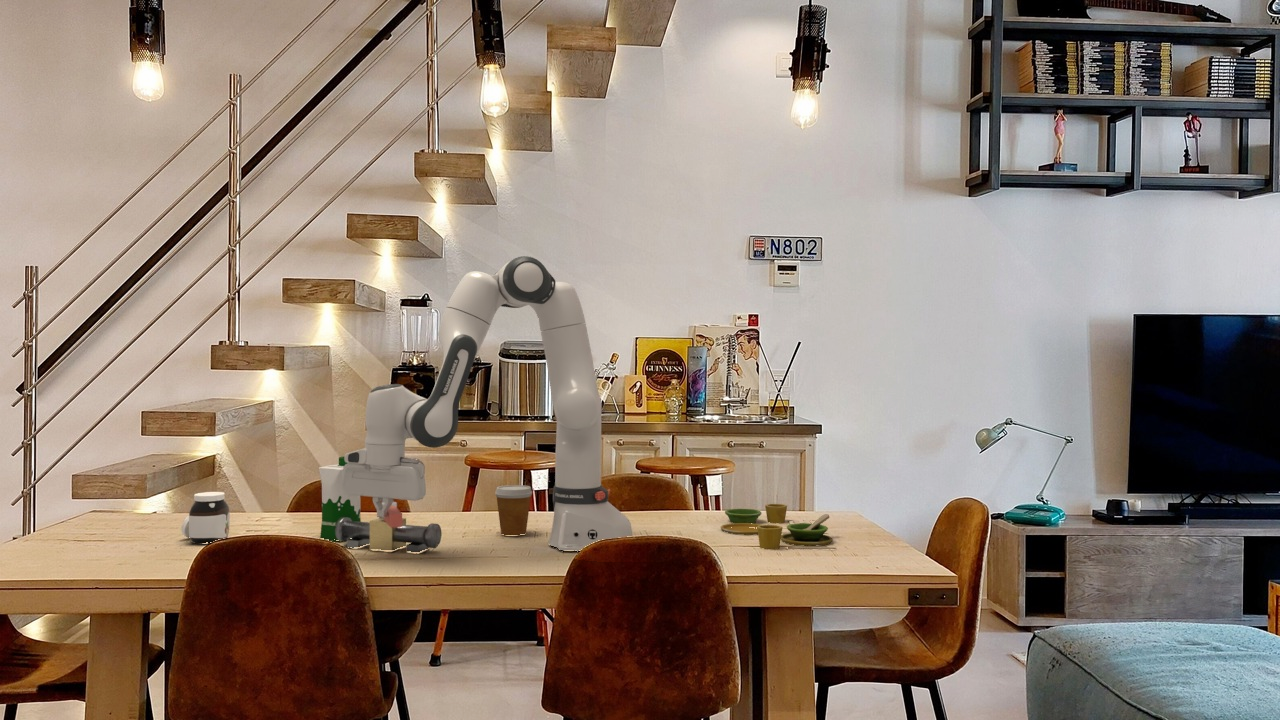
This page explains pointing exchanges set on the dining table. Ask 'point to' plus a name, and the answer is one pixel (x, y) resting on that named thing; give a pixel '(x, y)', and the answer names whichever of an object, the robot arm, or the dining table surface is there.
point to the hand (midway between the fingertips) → (382, 517)
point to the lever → (393, 516)
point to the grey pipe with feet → (387, 535)
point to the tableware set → (778, 528)
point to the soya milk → (336, 500)
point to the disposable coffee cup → (513, 508)
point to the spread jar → (207, 518)
